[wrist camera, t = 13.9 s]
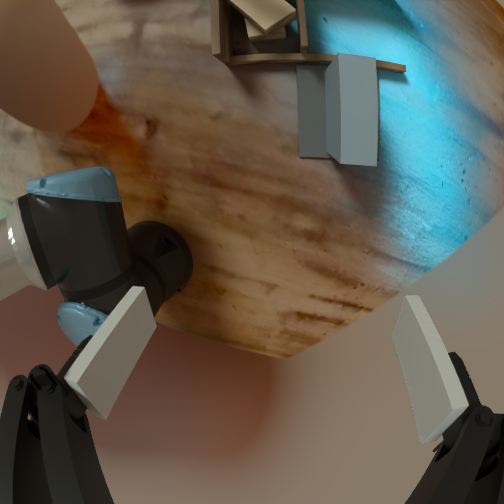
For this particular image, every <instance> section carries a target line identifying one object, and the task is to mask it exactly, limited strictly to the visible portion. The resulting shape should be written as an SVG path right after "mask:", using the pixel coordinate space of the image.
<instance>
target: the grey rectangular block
mask: <svg viewBox="0 0 504 504" xmlns="http://www.w3.org/2000/svg"><path fill="white" fill-rule="evenodd" d="M324 73H325V95H326V151H327V152H328V153H329V154H330V155H331V156H332V157H333V158H335V159H336V160H337V161H338V162H339V163H340V164H352V165H366V166H377V147H378V91H377V71H376V58H372V57H366V56H358V55H350V54H340V53H338V54H337V56H336V57H335V58H334V60H333V61H332V62H331V64H330V65H329V67H328V68H327V69H326V71H325V72H324Z"/></svg>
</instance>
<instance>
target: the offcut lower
mask: <svg viewBox="0 0 504 504" xmlns="http://www.w3.org/2000/svg"><path fill="white" fill-rule="evenodd" d="M244 18H245V17H244ZM245 23H246V27H247V32H248V37H249V39H250V41H251V43H255V42H261V41H268V40H275V39H284V38H286V32H285V27H282V28H281V29H279V30H278V31H276V32H275V33H273V34H272V35H270V36H269V37H268V38H267V37H266V36H265V35H264V34H263V33H262V32H261V31H260V30H259V29H258V28H257V27H255V26H254V25H253V24H252V23H251V22H250V21H249V20H248V19H246V18H245Z"/></svg>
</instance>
